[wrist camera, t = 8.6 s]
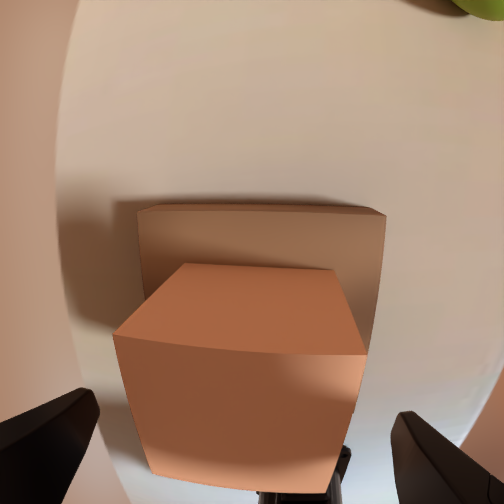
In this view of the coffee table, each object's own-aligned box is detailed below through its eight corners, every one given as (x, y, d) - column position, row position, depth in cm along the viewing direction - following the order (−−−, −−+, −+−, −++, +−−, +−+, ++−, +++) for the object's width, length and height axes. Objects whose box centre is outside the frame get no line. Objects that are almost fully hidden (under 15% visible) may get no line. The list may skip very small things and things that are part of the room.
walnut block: (345, 379, 17) (353, 413, 14) (179, 370, 18) (162, 401, 15) (367, 206, 14) (386, 215, 11) (163, 202, 15) (136, 211, 12)
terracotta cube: (317, 389, 14) (325, 492, 8) (193, 380, 14) (152, 473, 9) (334, 270, 12) (367, 355, 6) (184, 262, 13) (112, 334, 7)
